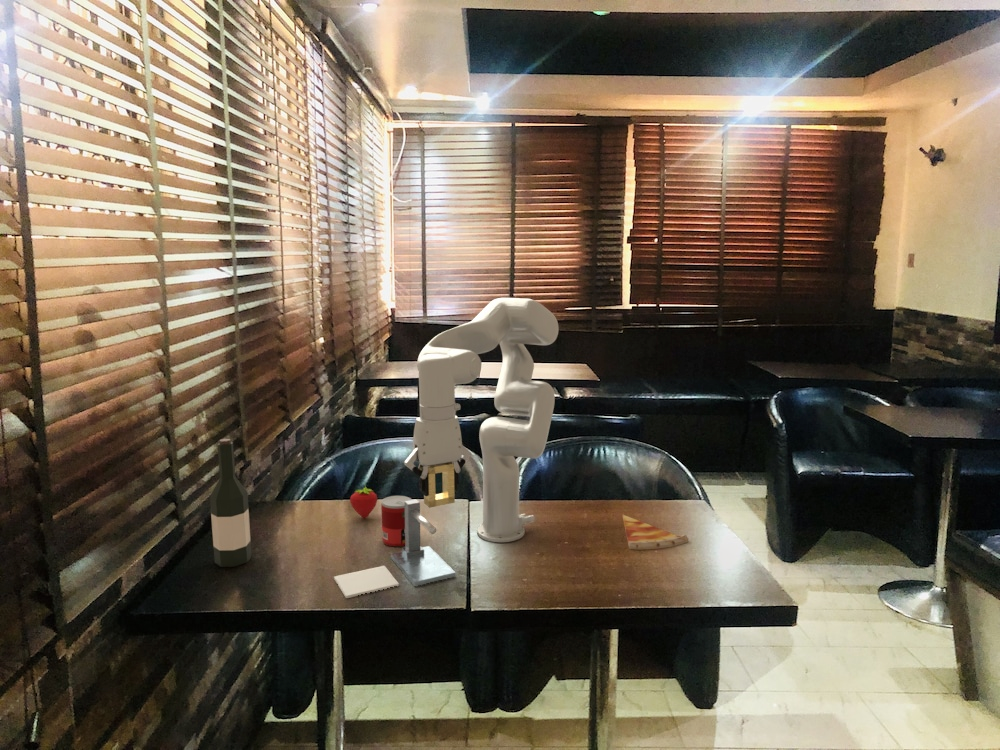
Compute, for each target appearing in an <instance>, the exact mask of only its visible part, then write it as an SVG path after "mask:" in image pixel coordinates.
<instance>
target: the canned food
mask: <svg viewBox="0 0 1000 750" xmlns="http://www.w3.org/2000/svg"><path fill="white" fill-rule="evenodd" d="M409 500H413V499H412V498H411V497H408V496H405V495H389V496H387V497H385V498H383V499H382V500H381V504H380V506H381V507H380V509H381V539H382V542H383V543H384V544H385V545H386V546H388V545H389V547H392V546H401V547H405V546H404V545H405V501H409Z"/></svg>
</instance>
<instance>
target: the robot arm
mask: <svg viewBox="0 0 1000 750" xmlns="http://www.w3.org/2000/svg"><path fill="white" fill-rule="evenodd" d="M559 330H560V329H559V323H558V320H557V318H556V316H555V315H554V314H553V312H552V311H550V310H549V309H548V308H547V307H546V306H544V305H543V304H542V303H540V302H539V301H537V300H535V299H531V298H522V297H521V298H518V297H498V298H494V299H493V300H491V301H490V302H489V303H488V304H487V305H486V306H485V307H483V309H482V310H480V312H479V313H478V314H477V315H475V317H474V318H473V319H472V320H471V321H469V322H465V323H463V324H459V325H458V326H455V327H453V328H450V329H447V330H445V331H442V332H441V333H438V334H437V335H435V336H434V337H433V338H432V339H431V340H429V341H428V342H427V344H425V346H424V347H423V348H422V350H421V351H420V352H419V355H418V358H417V363H416V364H417V365H416V366H417V371H418V392H419V393H418V395H419V398H418V400H419V417H417V418H415V423H414V428H413V439H412V441H413V442H412V452H411V453H410V454H409V456H407V457H406V459H405V460H404V462H403V464H404V466H406V467H407V468H408V469H409V470H411V471H412V472H413V473H414V474H415V475H417V476H418V489H419V492H420V493H421V494H422V495H423V496H424V495H425V496H428V495H429V480H428V478H427V473H428V468H429V467H430V466H431V465H438V464H443V463H449V462H451V463H452V464H453V463H454V492H456V491H458V486H459V483H460V482H459V473H460V472H461V469H462V468H463V466H464V465H465V464H466V462H468V460H469V459H470V457H471V456H472V452H471V451H470V450H469V449H468V448H466V447H465V446H464V445H463V442H462V441H463V439H462V431H461V426H460V422H459V418H458V416H457V411H459V410H461V404H460V403H456V395H455V394H456V391H455V388H456V387H455V386H456V385H462V384H463V385H466V384H470V383H472V382H474V381H475V380H476V379H477V378H478V377H479V375H480V374H481V371H482V360H481V358H480V356H479V354H485V353H488V352H490V351H493V350H494V349H496V348H497V347H498V346H500V351H501V355H502V363H501V368H500V373H499V378H498V381H497V385H496V389H495V394H494V399H493V401H494V404H493V405H494V408H495V409H496V410H497V411H498V412H500V413H502V414H508V415H513V416H522V417H527V418H528V417H529V419H528V420H527V419H521V418H512V417H503V416H491V417H489V418H486V419H485V420H484V421H483V422H482V423H481V425H480V427H479V433H478V434H479V435H478V436H479V437H478V439H479V443H480V448H481V454H482V472H483V473H482V523H480V525H478V527H477V530H476V533H477V535H478V537H479V538H481V539H482V540H485V541H487V542H492V543H510V542H514V541H515V542H516V541H517V540H520V539H521V538H523V537H524V535H525V527H524V526H525V525H526V524H530V523H535V521H536V518H535V516H534V514H530V515H526V513H521V514H520V467H519V465H518V464H519V463H518V462H517V460H516V457H517V458H527V459H538V458H540V457H541V456H542V455H543V453H544V452H545V448H546V445H547V441H548V438H549V437H548V436H549V432H550V428H551V422H552V418H553V414H554V410H555V409H554V408H555V399H556V397H555V391H554V388H553V387H552V385H550V384H549V383H548V382H546V381H541V380H532V379H533V373H534V368H535V364H534V363H535V362H534V360H533V357H532V355H531V353H530V352H529V350H528V349H527V348H526V346H525V345H536V346H549V345H551V344H553V343H554V342H555V341H556V340H557V338H558V335H559ZM415 462H419V463H418V466H416V465H415V464H414V463H415Z"/></svg>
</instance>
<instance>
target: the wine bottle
mask: <svg viewBox="0 0 1000 750" xmlns="http://www.w3.org/2000/svg"><path fill="white" fill-rule="evenodd" d="M231 440H232V438H231V439H230V438H221V439H219V440H218V441H219V443H217V455H218V468H219V469H218V471H219V479H218V481H217V483H216V485H215V487H214V489H213V490H212V492H211V494H210V495H209V502H210V503H209V504H210V505H209V506H210V516H211V517H210V518H211V530H212V545H213V558H214V559H213V560H214V564H216V565H217V566H218V567H221V568H234V567H238V566H241V565H243V564H246V563H248V562H249V561H250V559H251V558H252V546H251V545H252V543H251V528H250V527H251V526H250V512H249V497H248V496H249V495H248V490H247V489H246V488H245V486H243V484H242V483H241V482H240V480H239V479H238V478H237V477H236V469H235V468H236V467H235V466H236V465H235V452H234V451H235V450H234V442H233V441H231Z"/></svg>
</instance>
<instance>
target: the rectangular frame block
mask: <svg viewBox="0 0 1000 750" xmlns="http://www.w3.org/2000/svg"><path fill="white" fill-rule="evenodd" d="M440 473H442V475H441V476H442V492H441V493H436V474H440ZM427 478H428V480H429V495H428V496H425V495H424V494H423V503H424V504H425V506H427V507H428V508H429V509H430V508H434V507H441V506H444V505H449V504H454V503H455V502H456V501H455V498H456V497H455V496H456V495H455V491H454V463H453V464H452V463H451V462H449V463H443V464H438V465H431V466H430V467H429V468H428V473H427Z"/></svg>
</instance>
